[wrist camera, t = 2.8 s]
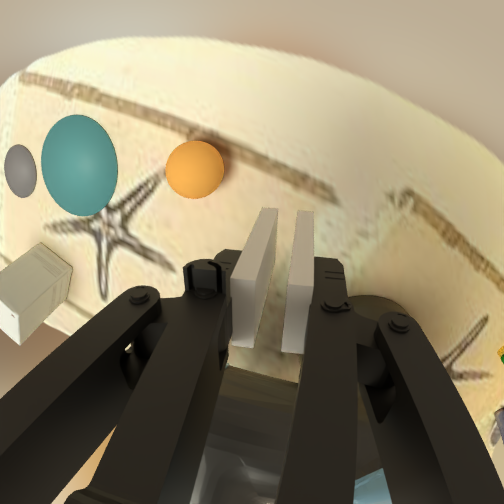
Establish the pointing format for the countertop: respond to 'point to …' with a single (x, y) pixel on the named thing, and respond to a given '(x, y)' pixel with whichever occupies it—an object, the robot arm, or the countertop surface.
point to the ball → (194, 169)
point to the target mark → (79, 165)
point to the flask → (500, 421)
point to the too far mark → (20, 171)
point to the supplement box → (31, 291)
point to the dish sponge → (501, 354)
